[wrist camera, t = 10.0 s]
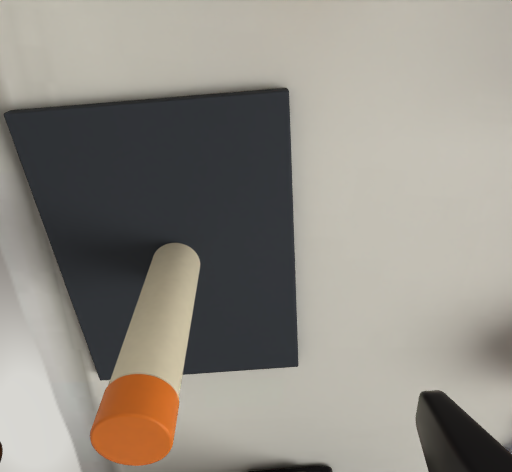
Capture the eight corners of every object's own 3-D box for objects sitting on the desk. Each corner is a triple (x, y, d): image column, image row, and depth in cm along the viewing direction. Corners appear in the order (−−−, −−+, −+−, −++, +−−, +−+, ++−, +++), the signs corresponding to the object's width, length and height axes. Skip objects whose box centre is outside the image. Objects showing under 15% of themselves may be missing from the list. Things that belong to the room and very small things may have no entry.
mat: (297, 359, 26) (298, 367, 26) (102, 373, 26) (99, 380, 26) (287, 87, 18) (289, 90, 18) (9, 110, 18) (2, 113, 18)
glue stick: (204, 280, 22) (178, 464, 14) (156, 284, 22) (101, 469, 14) (197, 239, 21) (164, 412, 12) (147, 243, 21) (79, 418, 12)
